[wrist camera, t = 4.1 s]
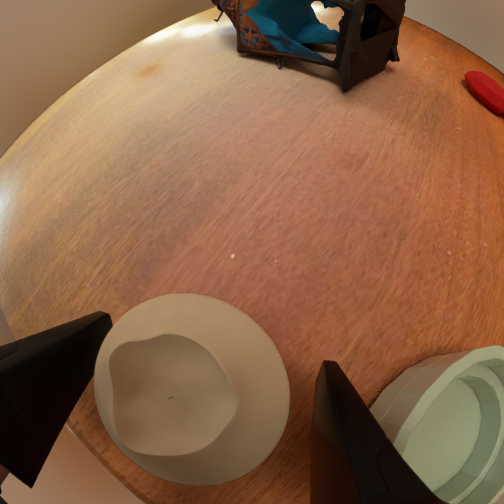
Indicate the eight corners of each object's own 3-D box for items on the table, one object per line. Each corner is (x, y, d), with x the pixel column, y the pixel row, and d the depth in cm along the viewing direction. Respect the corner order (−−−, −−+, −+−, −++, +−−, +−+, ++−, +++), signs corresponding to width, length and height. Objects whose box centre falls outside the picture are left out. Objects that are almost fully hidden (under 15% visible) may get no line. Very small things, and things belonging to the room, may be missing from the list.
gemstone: (480, 109, 23) (488, 94, 21) (453, 74, 27) (458, 60, 24) (515, 125, 23) (524, 113, 20) (489, 89, 26) (495, 77, 24)
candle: (233, 444, 13) (185, 541, 3) (160, 381, 14) (34, 383, 5) (298, 373, 14) (351, 383, 5) (221, 312, 16) (158, 230, 6)
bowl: (420, 527, 8) (453, 553, 4) (306, 474, 12) (321, 513, 7) (507, 398, 11) (552, 396, 7) (421, 322, 15) (468, 302, 10)
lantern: (367, 120, 30) (225, 53, 36) (418, 30, 21) (267, -21, 27) (338, 89, 17) (146, 26, 23) (415, -42, 8) (204, -68, 14)
